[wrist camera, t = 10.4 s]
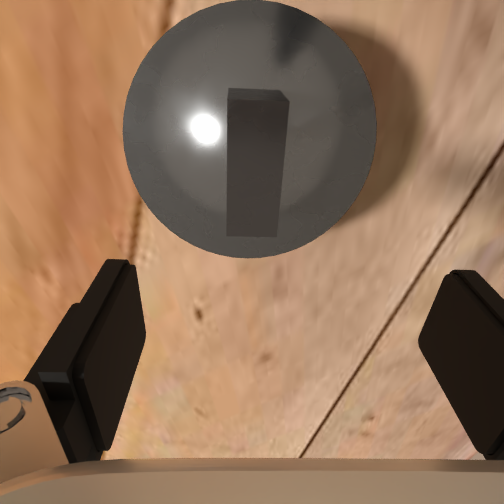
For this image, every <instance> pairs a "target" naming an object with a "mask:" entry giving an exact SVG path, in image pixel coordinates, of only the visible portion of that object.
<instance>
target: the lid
mask: <svg viewBox="0 0 504 504" xmlns="http://www.w3.org/2000/svg"><path fill="white" fill-rule="evenodd" d="M376 129H377V122H376V112H375V104H374V100H373V96H372V92H371V88H370V86H369V83H368V80H367V78H366V75H365V73H364V71H363V69H362V67H361V65H360V64H359V62H358V60H357V58H356V56H355V55H354V54H353V52H352V51H351V50H350V49H349V47H348V46H347V45H346V43H345V42H344V41H343V40H342V39H341V38H340V37H339V36H338V35H337V34H336V33H335V32H334V31H333V30H332V29H331V28H329V27H328V26H326V25H325V24H324V23H322V22H321V21H319V20H318V19H317V18H315V17H313V16H311V15H309V14H307V13H305V12H303V11H301V10H299V9H297V8H294V7H291V6H288V5H284V4H281V3H278V2H270V1H263V0H237V1H231V2H226V3H220V4H217V5H214V6H211V7H208V8H205V9H203V10H200V11H198V12H196V13H194V14H192V15H190V16H189V17H187V18H185V19H183V20H181V21H180V22H179V23H178V24H176V25H175V26H174V27H172V28H171V29H170V30H168V31H167V32H166V33H165V34H164V35H163V36H162V37H161V38H160V39H159V40H158V41H157V42H156V43H155V44H154V46H153V47H152V48H151V49H150V51H149V52H148V54H147V55H146V57H145V58H144V59H143V61H142V62H141V64H140V66H139V68H138V70H137V72H136V74H135V76H134V78H133V81H132V83H131V86H130V89H129V92H128V95H127V99H126V105H125V110H124V118H123V141H124V151H125V156H126V160H127V165H128V168H129V171H130V174H131V177H132V180H133V182H134V184H135V186H136V188H137V190H138V192H139V194H140V196H141V197H142V199H143V200H144V202H145V203H146V205H147V206H148V208H149V209H150V210H151V212H152V213H153V214H154V215H155V216H156V217H157V219H158V220H159V221H160V222H161V223H163V224H164V225H165V226H166V227H167V228H168V229H169V230H170V231H172V232H173V233H174V234H176V235H177V236H179V237H180V238H181V239H183V240H185V241H187V242H188V243H190V244H192V245H194V246H196V247H198V248H201V249H203V250H205V251H208V252H212V253H215V254H218V255H223V256H229V257H236V258H262V257H268V256H275V255H278V254H282V253H286V252H289V251H292V250H294V249H297V248H299V247H302V246H303V245H305V244H307V243H309V242H311V241H313V240H314V239H316V238H317V237H319V236H320V235H322V234H323V233H325V232H326V231H327V230H328V229H330V228H331V227H332V226H333V225H334V224H335V223H337V221H338V220H339V219H340V218H341V217H342V216H343V215H344V214H345V213H346V212H347V210H348V209H349V208H350V206H351V205H352V204H353V202H354V201H355V199H356V198H357V196H358V194H359V193H360V191H361V189H362V187H363V185H364V183H365V180H366V178H367V176H368V173H369V170H370V167H371V164H372V160H373V157H374V150H375V144H376Z"/></svg>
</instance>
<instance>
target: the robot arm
mask: <svg viewBox="0 0 504 504" xmlns="http://www.w3.org/2000/svg"><path fill="white" fill-rule="evenodd" d="M145 338H146V329H145V323H144V316H143V310H142V304H141V297H140V291H139V284H138V278H137V271H136V267H135V265H130V263H129V261H128V260H122V259H107V260H106V261H105V262H104V264H103V266H102V267H101V269H100V271H99V272H98V274H97V276H96V277H95V279H94V280H93V282H92V284H91V285H90V287H89V289H88V290H87V292H86V294H85V295H84V297H83V299H82V300H81V302H80V303H75V304H73V305H72V306H71V307H70V308H69V310H68V312H67V313H66V315H65V316H64V318H63V319H62V321H61V323H60V324H59V326H58V327H57V329H56V330H55V332H54V334H53V335H52V337H51V338H50V340H49V341H48V343H47V345H46V346H45V348H44V349H43V351H42V352H41V354H40V356H39V357H38V359H37V360H36V362H35V364H34V365H33V367H32V368H31V370H30V371H29V373H28V375H27V376H26V378H25V379H24V381H11V382H5V383H2V384H0V504H504V299H503V298H502V297H501V296H500V295H499V294H498V293H497V292H496V291H495V290H494V289H493V288H492V287H491V286H490V285H489V284H488V283H487V282H486V281H485V280H484V279H483V278H482V277H481V276H480V275H479V274H478V273H477V272H476V271H474V270H452V271H451V272H450V274H447V275H446V276H445V277H444V278H443V281H442V283H441V286H440V288H439V290H438V293H437V295H436V297H435V300H434V302H433V304H432V307H431V309H430V312H429V314H428V316H427V319H426V321H425V323H424V326H423V328H422V331H421V333H420V335H419V338H418V344H419V348H420V350H421V352H422V353H423V355H424V357H425V359H426V361H427V362H428V364H429V366H430V368H431V370H432V371H433V373H434V375H435V377H436V379H437V380H438V382H439V384H440V386H441V388H442V389H443V391H444V393H445V395H446V397H447V398H448V400H449V402H450V404H451V406H452V408H453V409H454V411H455V413H456V415H457V417H458V418H459V420H460V422H461V424H462V426H463V427H464V429H465V431H466V433H467V435H468V436H469V438H470V440H471V442H472V444H473V445H474V447H475V449H476V450H477V451H478V452H479V453H481V454H483V456H484V457H485V459H486V460H441V459H329V458H162V459H117V460H101V461H100V459H101V456H102V453H103V451H108V450H109V449H110V448H111V445H112V443H113V440H114V436H115V433H116V430H117V427H118V424H119V421H120V418H121V415H122V412H123V409H124V405H125V402H126V399H127V396H128V393H129V390H130V387H131V384H132V381H133V378H134V374H135V371H136V368H137V365H138V362H139V359H140V356H141V353H142V350H143V346H144V343H145Z"/></svg>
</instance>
